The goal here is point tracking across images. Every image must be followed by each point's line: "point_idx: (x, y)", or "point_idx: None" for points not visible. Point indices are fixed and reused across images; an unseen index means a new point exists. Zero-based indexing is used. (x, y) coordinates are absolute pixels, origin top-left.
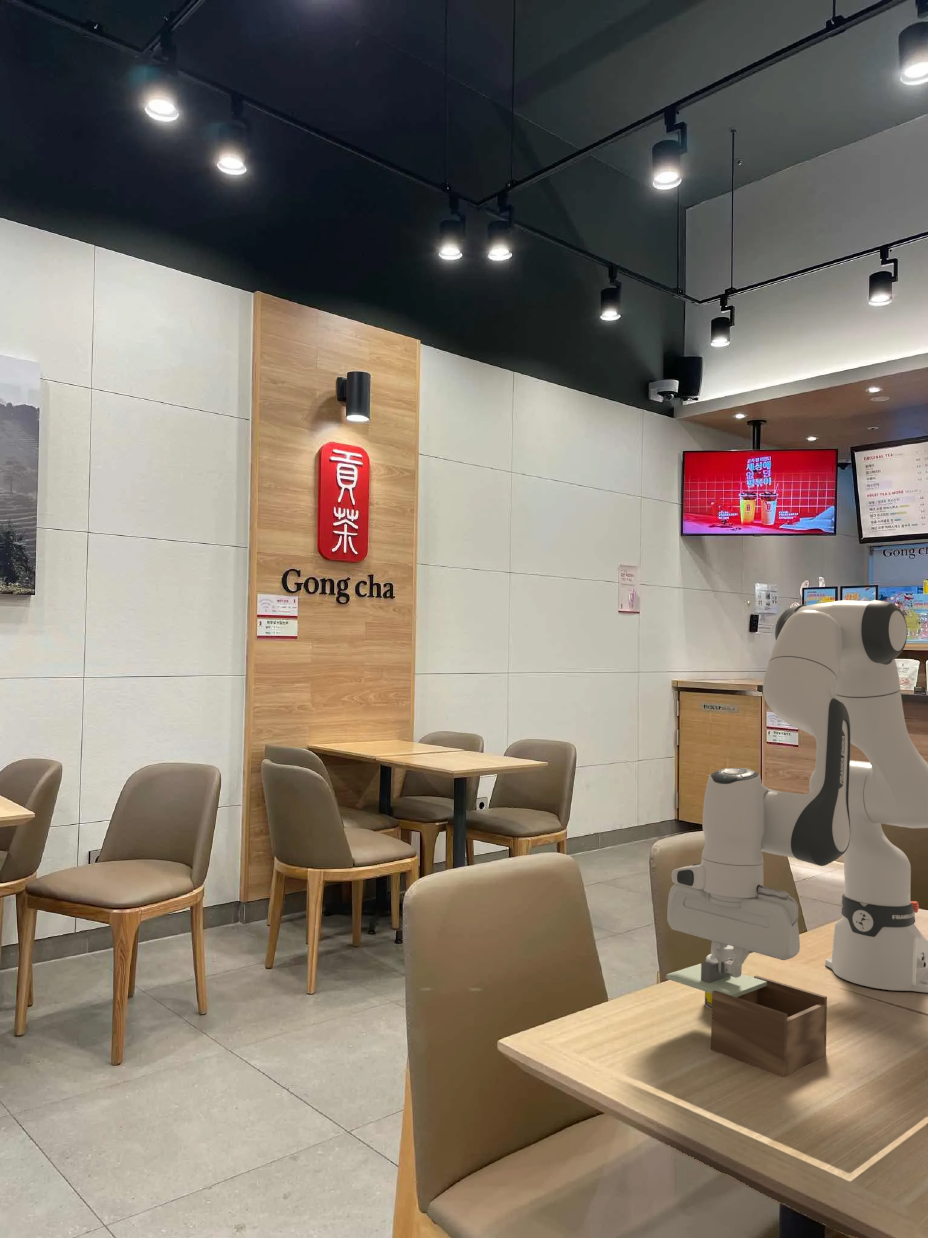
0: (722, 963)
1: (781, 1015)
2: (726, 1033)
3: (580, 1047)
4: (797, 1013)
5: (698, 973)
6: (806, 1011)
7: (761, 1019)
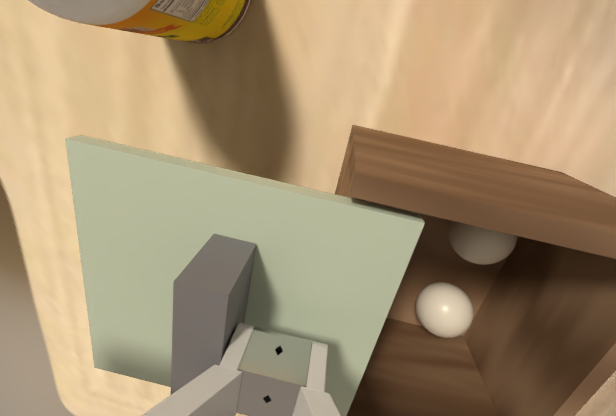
0: (239, 406)
1: None
2: None
3: (136, 382)
4: (568, 400)
5: (151, 301)
6: (605, 372)
7: None
